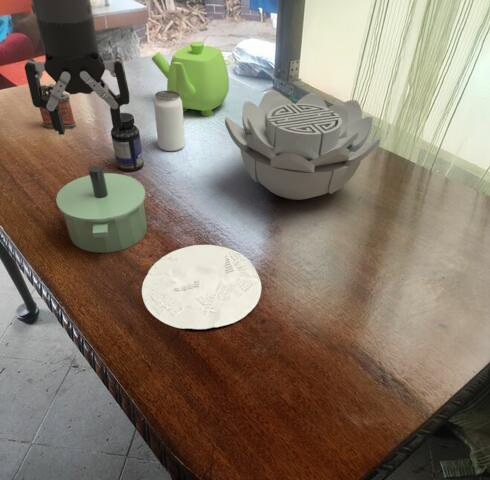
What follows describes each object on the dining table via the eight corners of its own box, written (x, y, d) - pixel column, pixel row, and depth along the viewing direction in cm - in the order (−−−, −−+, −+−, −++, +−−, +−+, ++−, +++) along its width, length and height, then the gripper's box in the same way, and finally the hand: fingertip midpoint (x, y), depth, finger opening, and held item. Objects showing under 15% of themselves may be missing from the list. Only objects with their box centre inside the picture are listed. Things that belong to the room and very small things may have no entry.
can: (175, 154, 109) (170, 102, 100) (153, 147, 111) (147, 96, 102) (190, 144, 113) (187, 93, 104) (168, 138, 115) (164, 87, 106)
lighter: (77, 123, 119) (67, 82, 111) (74, 129, 116) (64, 87, 109) (45, 123, 118) (34, 82, 111) (42, 129, 116) (30, 87, 109)
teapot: (171, 86, 139) (166, 26, 127) (238, 97, 135) (239, 36, 123) (133, 117, 123) (123, 51, 111) (207, 130, 118) (205, 63, 107)
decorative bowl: (320, 145, 115) (331, 81, 104) (388, 205, 96) (409, 135, 85) (208, 163, 106) (206, 96, 95) (259, 233, 88) (264, 160, 77)
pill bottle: (136, 157, 107) (129, 109, 99) (148, 167, 104) (142, 118, 96) (112, 163, 105) (103, 115, 97) (124, 174, 101) (115, 125, 93)
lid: (52, 227, 76) (42, 195, 72) (62, 180, 87) (53, 149, 82) (146, 221, 78) (142, 189, 74) (145, 176, 89) (140, 146, 84)
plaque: (209, 236, 86) (208, 229, 85) (285, 291, 77) (286, 284, 75) (119, 286, 77) (117, 279, 76) (193, 355, 68) (192, 348, 66)
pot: (64, 265, 79) (53, 231, 74) (74, 203, 93) (65, 172, 88) (148, 258, 81) (143, 225, 76) (146, 199, 95) (142, 168, 90)
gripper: (117, 6, 65) (134, 120, 77) (13, 6, 63) (46, 123, 75) (116, 20, 60) (134, 140, 72) (3, 20, 58) (40, 144, 70)
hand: (89, 131), depth 73 cm, fingers open, 8 cm apart
